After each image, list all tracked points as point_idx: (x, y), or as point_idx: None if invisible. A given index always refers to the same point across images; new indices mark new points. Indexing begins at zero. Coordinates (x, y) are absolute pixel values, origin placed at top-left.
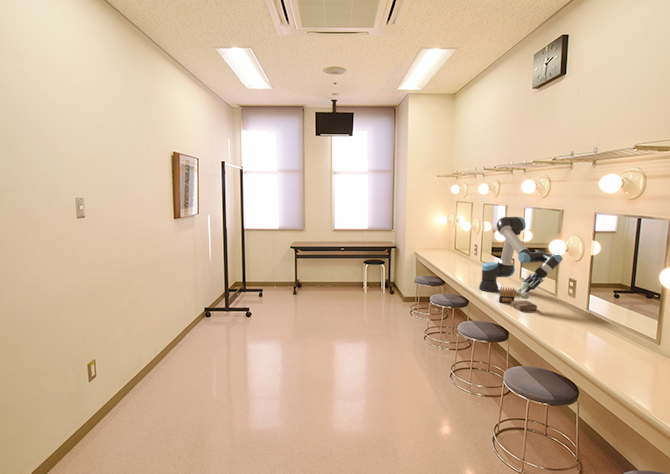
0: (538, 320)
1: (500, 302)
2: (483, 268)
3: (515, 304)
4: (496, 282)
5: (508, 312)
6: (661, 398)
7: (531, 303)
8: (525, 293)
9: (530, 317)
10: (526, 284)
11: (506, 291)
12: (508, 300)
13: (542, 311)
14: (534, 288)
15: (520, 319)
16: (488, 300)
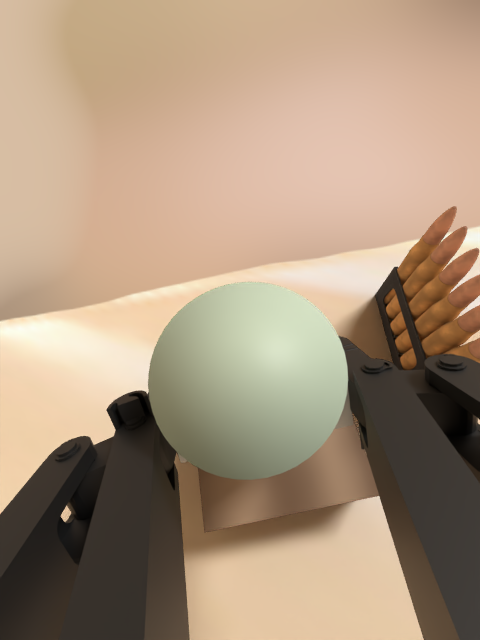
0: (31, 430)
1: (377, 299)
2: None
3: None
4: None
5: (178, 301)
6: None
7: (268, 498)
8: None
9: (86, 399)
10: (157, 364)
11: (439, 282)
12: (400, 343)
13: (208, 579)
14: (66, 534)
15: (68, 331)
16: (405, 243)
